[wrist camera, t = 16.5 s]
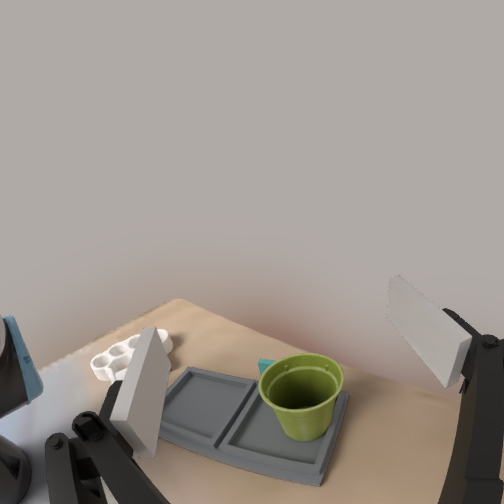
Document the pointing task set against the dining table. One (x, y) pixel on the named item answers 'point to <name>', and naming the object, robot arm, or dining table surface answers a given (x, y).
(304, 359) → the plant pot
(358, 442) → the dining table surface
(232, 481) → the dining table surface
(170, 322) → the dining table surface
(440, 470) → the dining table surface
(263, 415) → the tray
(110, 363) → the knuckle duster
